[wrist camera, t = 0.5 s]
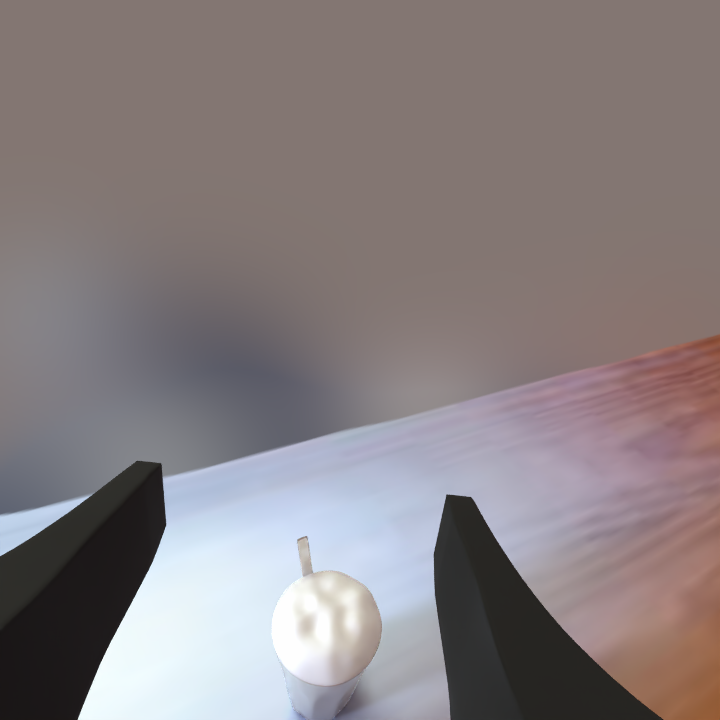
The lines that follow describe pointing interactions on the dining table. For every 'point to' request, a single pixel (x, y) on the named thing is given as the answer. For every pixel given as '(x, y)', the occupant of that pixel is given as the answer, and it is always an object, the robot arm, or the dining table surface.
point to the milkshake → (324, 638)
